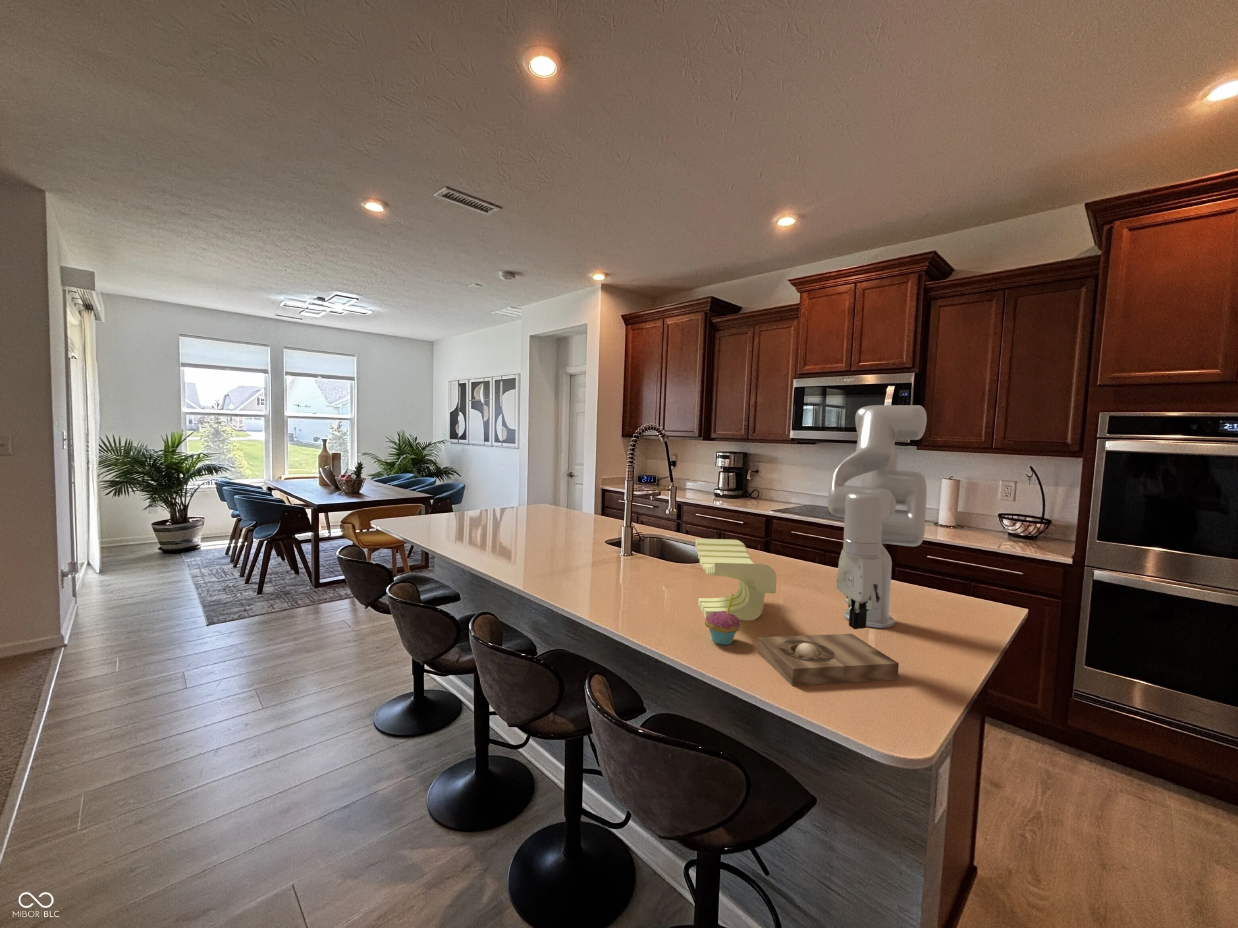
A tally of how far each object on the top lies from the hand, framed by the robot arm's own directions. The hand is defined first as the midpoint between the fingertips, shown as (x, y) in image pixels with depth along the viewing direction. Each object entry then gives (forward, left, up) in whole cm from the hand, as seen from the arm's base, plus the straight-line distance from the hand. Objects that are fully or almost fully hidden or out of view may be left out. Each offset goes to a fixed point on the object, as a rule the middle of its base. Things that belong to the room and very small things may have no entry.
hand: (857, 626), depth 116 cm
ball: (+1, -12, -6) cm, 14 cm away
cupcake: (-14, -26, -8) cm, 31 cm away
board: (+1, -8, -8) cm, 11 cm away
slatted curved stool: (-34, -16, -8) cm, 39 cm away
